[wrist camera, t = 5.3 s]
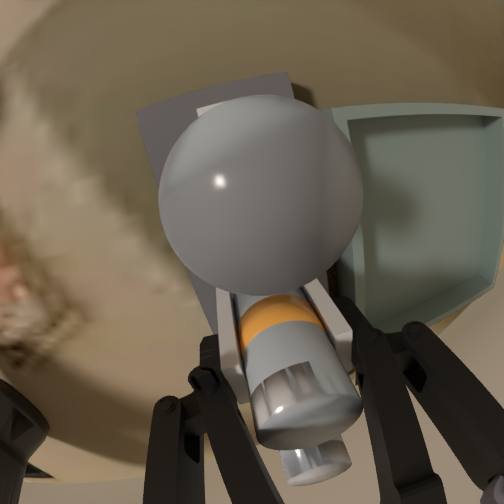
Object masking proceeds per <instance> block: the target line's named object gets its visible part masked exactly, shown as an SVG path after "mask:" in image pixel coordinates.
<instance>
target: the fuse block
mask: <svg viewBox="0 0 504 504" xmlns="http://www.w3.org/2000/svg"><path fill="white" fill-rule="evenodd" d="M250 95H278V96H285V97H289V98H293V99H295V98H294V94H293V90H292V86H291V82H290V79H289V75H288V72H284V73H277V74H270V75H264V76H258V77H253V78H248V79H243V80H238V81H233V82H229V83H224V84H220V85H216V86H212V87H208V88H204V89H201V90H197V91H194V92H190V93H187V94H184V95H180V96H177V97H174V98H171V99H168V100H165V101H162V102H159V103H156V104H153V105H151V106H148V107H145V108H143V109H140V110H137V111H136V115H137V119H138V123H139V126H140V130H141V134H142V137H143V141H144V144H145V148H146V151H147V155H148V158H149V161H150V165H151V168H152V171H153V174H154V178H155V181H156V184H157V187H158V190H159V186H160V179H161V175H162V171H163V168H164V165H165V162H166V160H167V157H168V155H169V153H170V151H171V149H172V147H173V146H174V144H175V143H176V141H177V140H178V138H179V137H180V135H181V134H182V133H183V132H184V131H185V130H186V129H187V127H188V126H189V125H190V124H191V123H193V122H194V121H195V120H196V119H197V118H198V117H200V116H201V115H202V114H204V113H205V112H207V111H208V110H210V109H212V108H213V107H215V106H217V105H220V104H222V103H224V102H226V101H229V100H232V99H236V98H239V97H243V96H250ZM186 269H187V271H188V274H189V276H190V279H191V281H192V284H193V286H194V289H195V291H196V294H197V296H198V299H199V301H200V304H201V306H202V308H203V311H204V313H205V315H206V318H207V320H208V322H209V325H210V327H211V329H212V332H213V334H214V335H215V334H218V319H217V302H216V287H215V286H213V285H211V284H209V283H207V282H205V281H204V280H202V279H201V278H199V277H198V276H196V275H195V274H194V273H193V272H192V271H191V270H190V269H188V268H187V267H186ZM317 279H318V281H319V282H320V284H321V285H322V287H323V288H324V289H325V291H326V292H327V294H328V295H329V288H328V279H327V271H325V272H324V273H323V274H322V275H321V276H319V277H317ZM231 295H232V298H233V294H232V293H231Z"/></svg>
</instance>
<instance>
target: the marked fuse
mask: <svg viewBox="0 0 504 504" xmlns="http://www.w3.org/2000/svg"><path fill="white" fill-rule="evenodd" d="M232 294H233V301H234V308H235V314H236V321H237V327H238V330H237V332H238V339H239V345H240V351H241V358H242V362H243V364H244V370H245V376H246V382H247V388H248V393H249V399H250V405H251V410H252V416H253V421H254V426H255V432H256V437H257V440H258V442H259V443H260V444H261V445H262V446H264V447H266V448H270V449H274V450H298V449H304V448H308V447H312V446H315V445H318V444H321V443H323V442H326V441H328V440H330V439H332V438H334V437H336V436H338V435H339V434H341V433H343V432H344V431H345V430H347V429H348V428H349V427H350V426H351V425H353V424H354V422H356V420H357V419H358V418H359V417H360V415H361V413H362V411H363V402H362V400H361V398H360V396H359V394H358V392H357V390H356V388H355V386H354V384H353V383H352V381H351V379H350V377H349V375H348V373H347V371H346V369H345V368H344V366H343V364H342V362H341V360H340V358H339V357H338V355H337V353H336V351H335V349H334V347H333V345H332V344H331V342H330V340H329V338H328V334H327V332H326V330H325V329H324V327H323V325H322V323H321V322H320V320H319V318H318V316H317V314H316V313H315V311H314V309H313V308H312V306H311V305H310V304H309V302H308V300H307V299H306V297H305V295H304V293H303V292H302V290H301V288H300V287H299V288H297V289H294V290H291V291H288V292H284V293H280V294H276V295H268V296H248V295H239V294H235V293H232Z"/></svg>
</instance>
